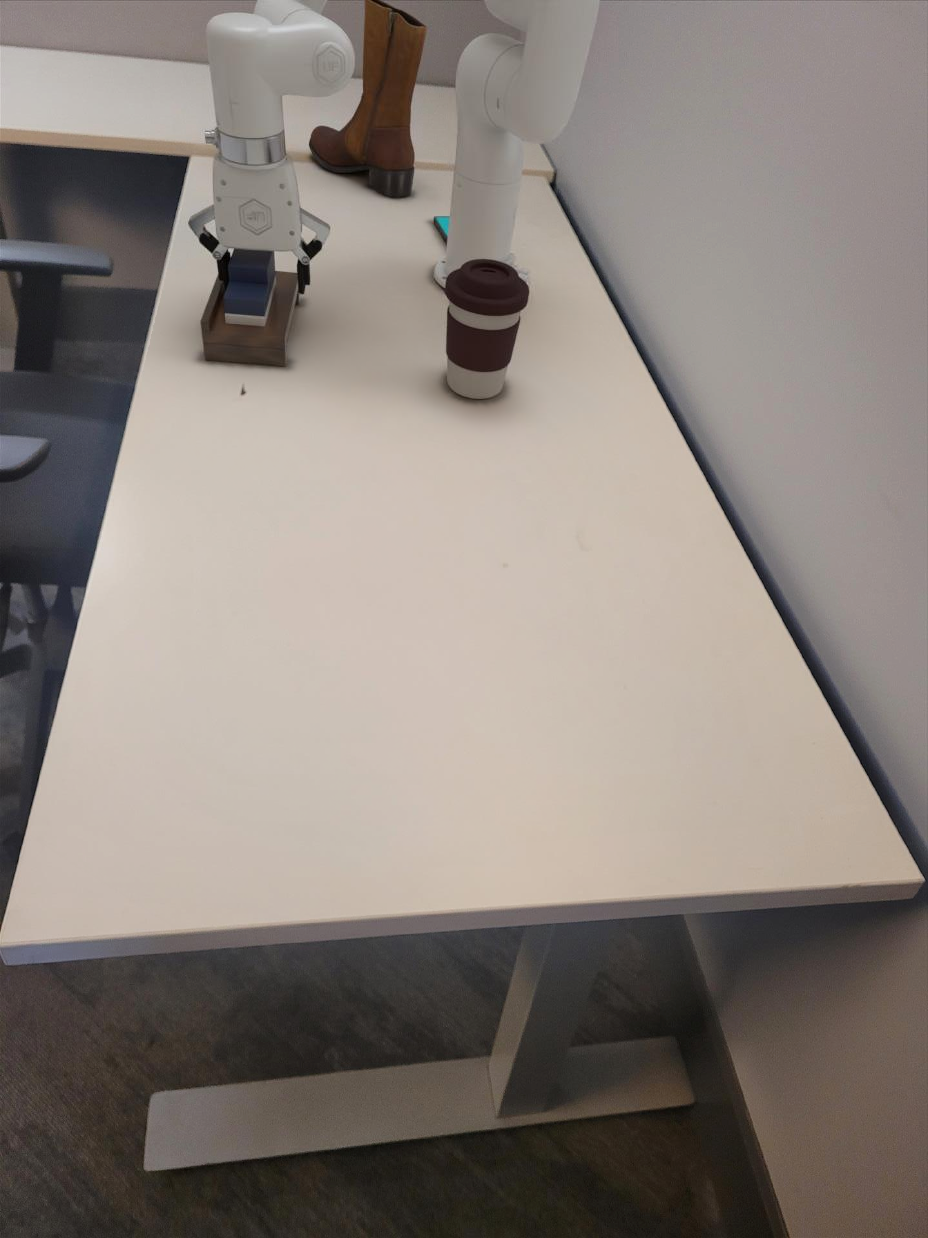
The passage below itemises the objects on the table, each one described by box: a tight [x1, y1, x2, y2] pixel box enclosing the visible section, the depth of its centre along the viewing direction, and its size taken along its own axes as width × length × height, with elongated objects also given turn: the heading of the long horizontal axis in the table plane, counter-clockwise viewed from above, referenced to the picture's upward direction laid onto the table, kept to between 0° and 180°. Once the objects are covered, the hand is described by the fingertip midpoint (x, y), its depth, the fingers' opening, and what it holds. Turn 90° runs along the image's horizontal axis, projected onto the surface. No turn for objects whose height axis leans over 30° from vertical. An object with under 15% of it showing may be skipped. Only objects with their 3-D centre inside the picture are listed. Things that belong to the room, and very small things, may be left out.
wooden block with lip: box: [200, 270, 301, 367], centre depth 111 cm, size 10×18×5 cm, turn 2°
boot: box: [308, 0, 428, 199], centre depth 145 cm, size 25×9×27 cm, turn 39°
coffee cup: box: [444, 259, 530, 400], centre depth 104 cm, size 10×10×15 cm
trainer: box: [224, 249, 276, 327], centre depth 108 cm, size 12×5×5 cm, turn 2°
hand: (265, 287), depth 111 cm, fingers open, 9 cm apart
